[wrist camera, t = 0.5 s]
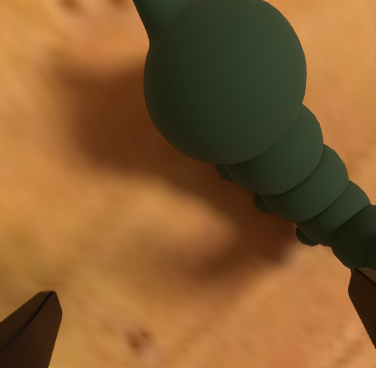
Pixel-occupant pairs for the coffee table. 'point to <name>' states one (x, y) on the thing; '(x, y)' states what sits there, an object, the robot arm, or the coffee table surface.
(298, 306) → the coffee table surface
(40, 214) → the coffee table surface
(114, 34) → the coffee table surface
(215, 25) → the toy figurine
